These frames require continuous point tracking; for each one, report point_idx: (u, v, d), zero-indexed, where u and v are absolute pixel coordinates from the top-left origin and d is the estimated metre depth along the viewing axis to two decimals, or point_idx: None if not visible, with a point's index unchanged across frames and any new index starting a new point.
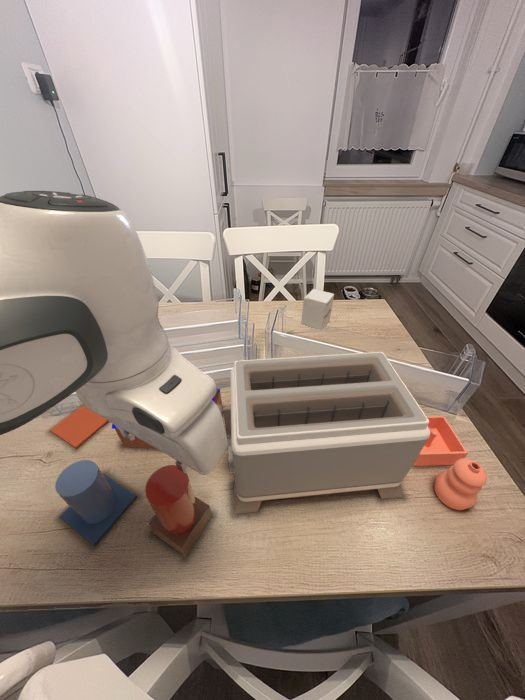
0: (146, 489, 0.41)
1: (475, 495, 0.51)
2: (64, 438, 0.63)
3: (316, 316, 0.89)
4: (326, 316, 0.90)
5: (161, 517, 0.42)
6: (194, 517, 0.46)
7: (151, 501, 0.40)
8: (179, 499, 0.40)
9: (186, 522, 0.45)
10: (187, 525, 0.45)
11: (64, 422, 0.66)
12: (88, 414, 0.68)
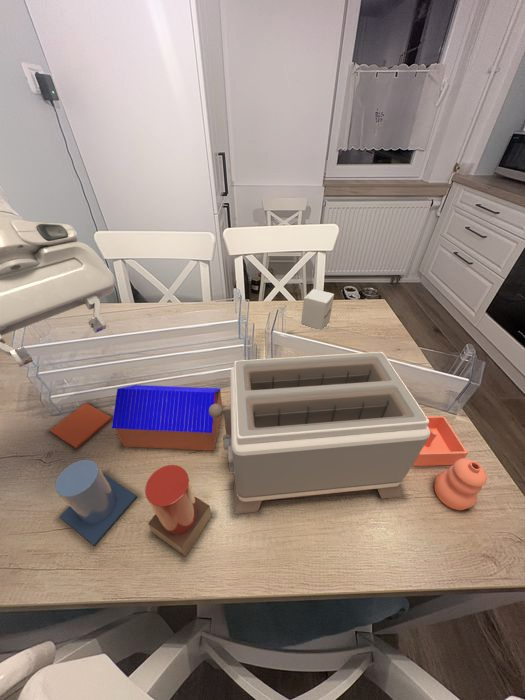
0: (146, 489, 0.41)
1: (475, 495, 0.51)
2: (64, 438, 0.63)
3: (316, 316, 0.89)
4: (326, 316, 0.90)
5: (161, 517, 0.42)
6: (194, 517, 0.46)
7: (151, 501, 0.40)
8: (179, 499, 0.40)
9: (186, 522, 0.45)
10: (187, 525, 0.45)
11: (64, 422, 0.66)
12: (88, 414, 0.68)
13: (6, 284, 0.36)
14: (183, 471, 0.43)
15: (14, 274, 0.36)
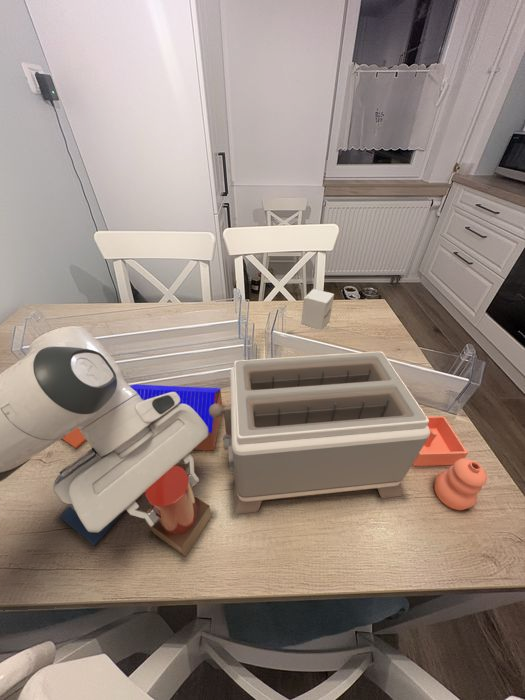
0: None
1: (475, 495, 0.51)
2: (64, 438, 0.63)
3: (316, 316, 0.89)
4: (326, 316, 0.90)
5: (161, 517, 0.42)
6: (194, 517, 0.46)
7: (151, 501, 0.40)
8: (179, 500, 0.40)
9: (186, 522, 0.45)
10: (187, 525, 0.45)
11: None
12: None
13: (131, 461, 0.41)
14: (183, 471, 0.43)
15: (136, 449, 0.42)
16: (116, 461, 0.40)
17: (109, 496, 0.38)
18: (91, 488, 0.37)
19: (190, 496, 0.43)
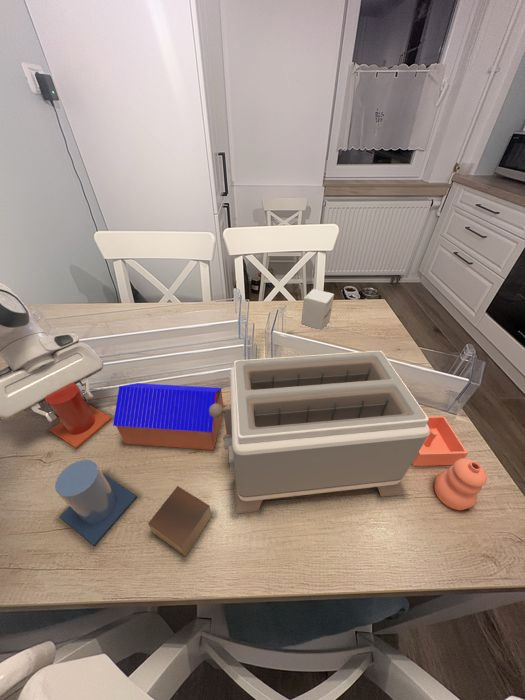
0: None
1: (475, 495, 0.51)
2: (64, 438, 0.63)
3: (316, 316, 0.89)
4: (326, 316, 0.90)
5: (58, 416, 0.60)
6: (89, 423, 0.64)
7: (47, 401, 0.58)
8: (67, 401, 0.58)
9: (81, 424, 0.63)
10: (82, 427, 0.63)
11: None
12: None
13: (36, 376, 0.59)
14: (76, 386, 0.61)
15: (41, 369, 0.60)
16: (24, 374, 0.58)
17: (16, 396, 0.57)
18: (3, 389, 0.56)
19: (81, 403, 0.61)
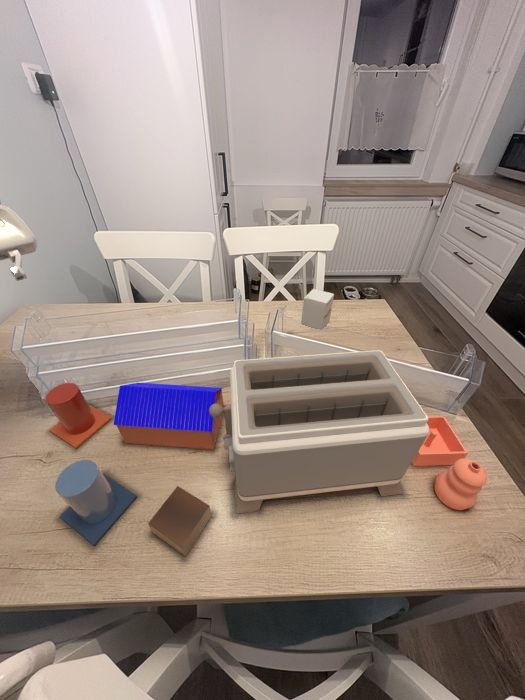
0: (46, 395, 0.59)
1: (475, 495, 0.51)
2: (64, 438, 0.63)
3: (316, 316, 0.89)
4: (326, 316, 0.90)
5: (58, 416, 0.60)
6: (89, 423, 0.64)
7: (47, 401, 0.58)
8: (67, 401, 0.58)
9: (81, 424, 0.63)
10: (82, 427, 0.63)
11: None
12: None
13: None
14: (76, 386, 0.61)
15: None
16: None
17: None
18: None
19: (81, 403, 0.61)
